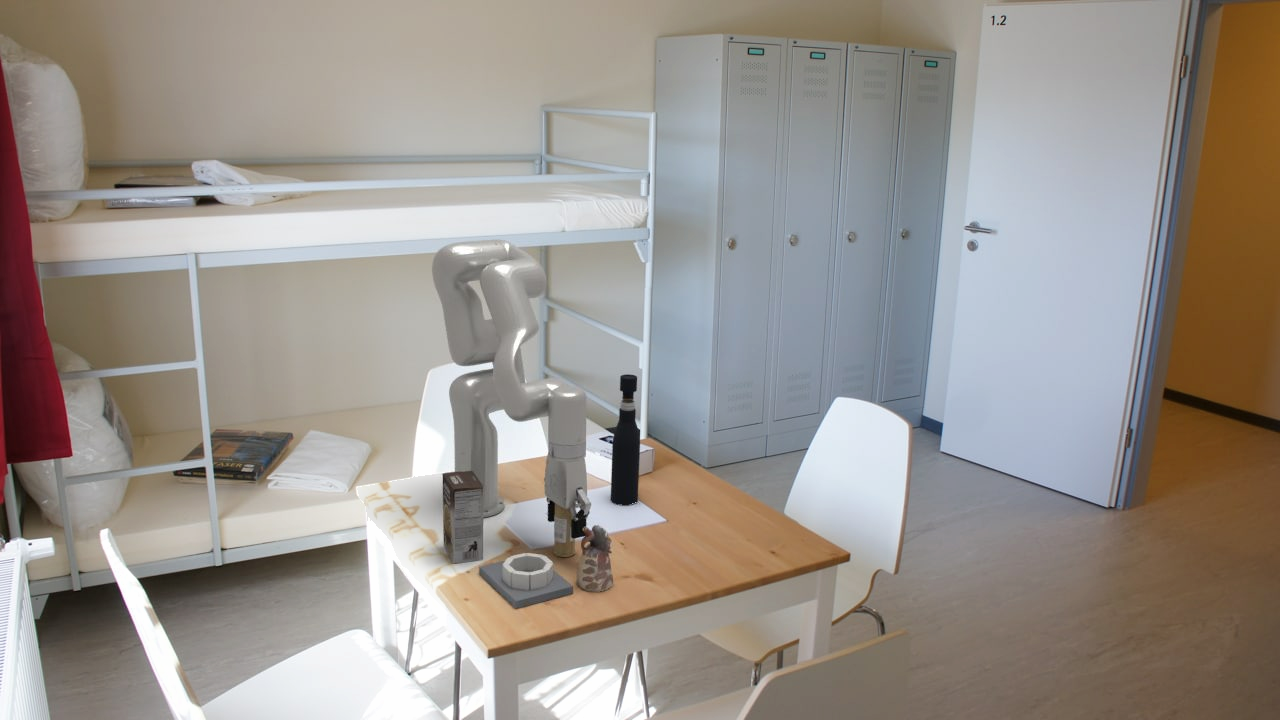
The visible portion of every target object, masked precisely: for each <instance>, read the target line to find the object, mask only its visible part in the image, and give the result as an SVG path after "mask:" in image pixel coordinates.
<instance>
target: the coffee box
mask: <svg viewBox="0 0 1280 720" xmlns="http://www.w3.org/2000/svg"><path fill="white" fill-rule="evenodd" d="M441 475H442V515H443V516H442V517H443V518H442V519H443V520H442V521H443V522H442V525H443V526H442V527H443V530H442V531H443V546H444V548H445V551H446V553H447V554H448V556H449V558H450V559H451V560H450V561H451V562H452V564H455V565H457V564H461V563H467V562H468V563H469V562H477V561H478V562H479V561H483V559H484V548H483V547H484V517H483V485H482V483H481V482H480V481H479V479H478V478H477V477H476V475H475V474H474V472H473V471H464V472H462V471H460V472H455V471H450V472H444V473H442V474H441Z"/></svg>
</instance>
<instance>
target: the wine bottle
mask: <svg viewBox="0 0 1280 720" xmlns="http://www.w3.org/2000/svg"><path fill="white" fill-rule="evenodd" d="M619 379H620V380H619V391H620V392H622V397H621V398H622V400H621V401H620V408H619V409H618V411H619V413H618V421H617V424H616V427H615V430H614V431H613V438H612V446H611V447H612V451H611V474H610V475H611V479H610V502H611V503H613V504H614V503H616V504H615V505H618V504H622V505H621V506H630V505H629V504H632V503H635V502H637V503H638V502H639V483H640V482H639V480H640V477H639V476H640V459H641V458H640V454H641V440H640V439H641V438H640V432H639V428H638V425H637V421H636V414H637V413H636V412H637V409H636V406H635V405H636V402H635V401H634V399H635V398H634V395H635V394H634V393H636V392H638V391H637V389H638V376H637V375H634V374H622V375H620V377H619ZM635 504H636V503H635ZM632 505H633V504H632Z"/></svg>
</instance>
